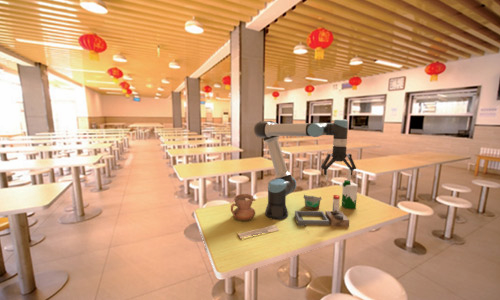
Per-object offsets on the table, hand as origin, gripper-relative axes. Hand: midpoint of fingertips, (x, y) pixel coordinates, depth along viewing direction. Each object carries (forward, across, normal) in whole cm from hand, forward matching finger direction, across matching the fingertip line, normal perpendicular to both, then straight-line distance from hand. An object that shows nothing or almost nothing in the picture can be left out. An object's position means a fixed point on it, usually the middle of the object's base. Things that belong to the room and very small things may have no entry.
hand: (337, 180), depth 128 cm
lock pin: (+26, 0, 0) cm, 26 cm away
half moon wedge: (+27, -11, +15) cm, 33 cm away
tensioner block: (+26, 0, -3) cm, 27 cm away
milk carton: (+27, +17, +20) cm, 38 cm away
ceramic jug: (+27, -58, +3) cm, 64 cm away
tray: (+26, -15, -1) cm, 31 cm away
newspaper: (+27, -48, -16) cm, 58 cm away
